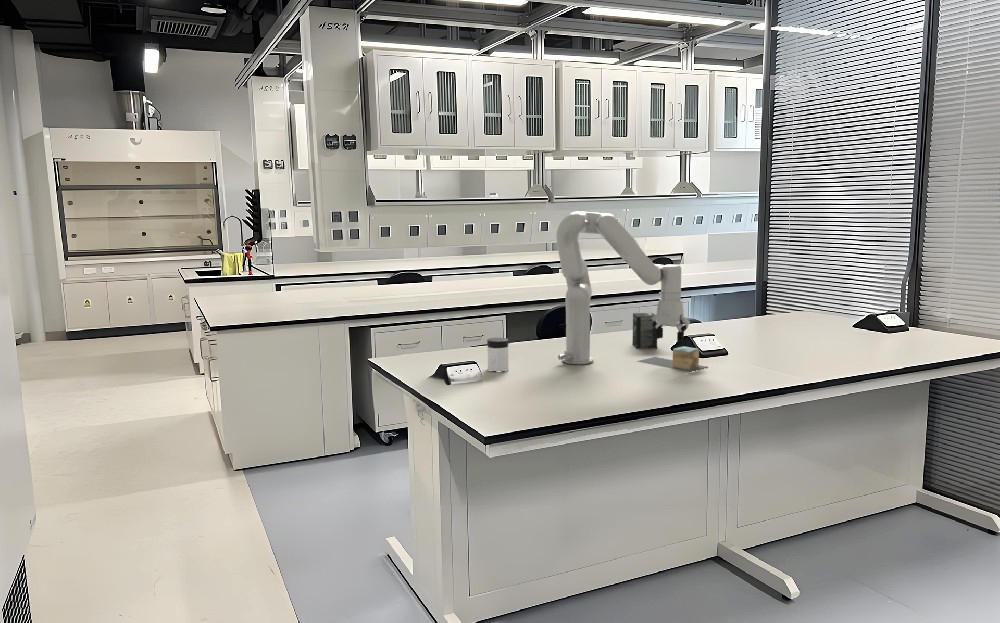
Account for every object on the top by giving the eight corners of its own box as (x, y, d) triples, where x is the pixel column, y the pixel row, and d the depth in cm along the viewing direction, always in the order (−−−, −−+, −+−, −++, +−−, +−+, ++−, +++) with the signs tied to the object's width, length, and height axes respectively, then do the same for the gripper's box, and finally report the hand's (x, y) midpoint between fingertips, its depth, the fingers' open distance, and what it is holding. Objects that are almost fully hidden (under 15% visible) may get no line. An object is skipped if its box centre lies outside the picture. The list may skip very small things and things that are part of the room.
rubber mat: (689, 372, 261) (689, 371, 260) (636, 362, 279) (636, 361, 279) (707, 367, 268) (707, 366, 268) (654, 357, 287) (654, 356, 287)
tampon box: (657, 349, 304) (658, 316, 302) (636, 349, 304) (636, 316, 302) (652, 344, 315) (653, 312, 313) (632, 344, 315) (632, 312, 313)
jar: (482, 371, 268) (482, 340, 266) (493, 366, 275) (492, 336, 273) (503, 373, 263) (502, 342, 262) (513, 369, 270) (513, 338, 269)
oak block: (672, 348, 268) (672, 366, 269) (688, 351, 263) (687, 369, 264) (683, 346, 273) (683, 363, 274) (699, 348, 267) (698, 366, 268)
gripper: (646, 295, 275) (646, 338, 277) (684, 299, 262) (682, 344, 264) (658, 293, 280) (657, 335, 282) (695, 297, 267) (694, 341, 269)
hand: (669, 339), depth 273 cm, fingers open, 9 cm apart
